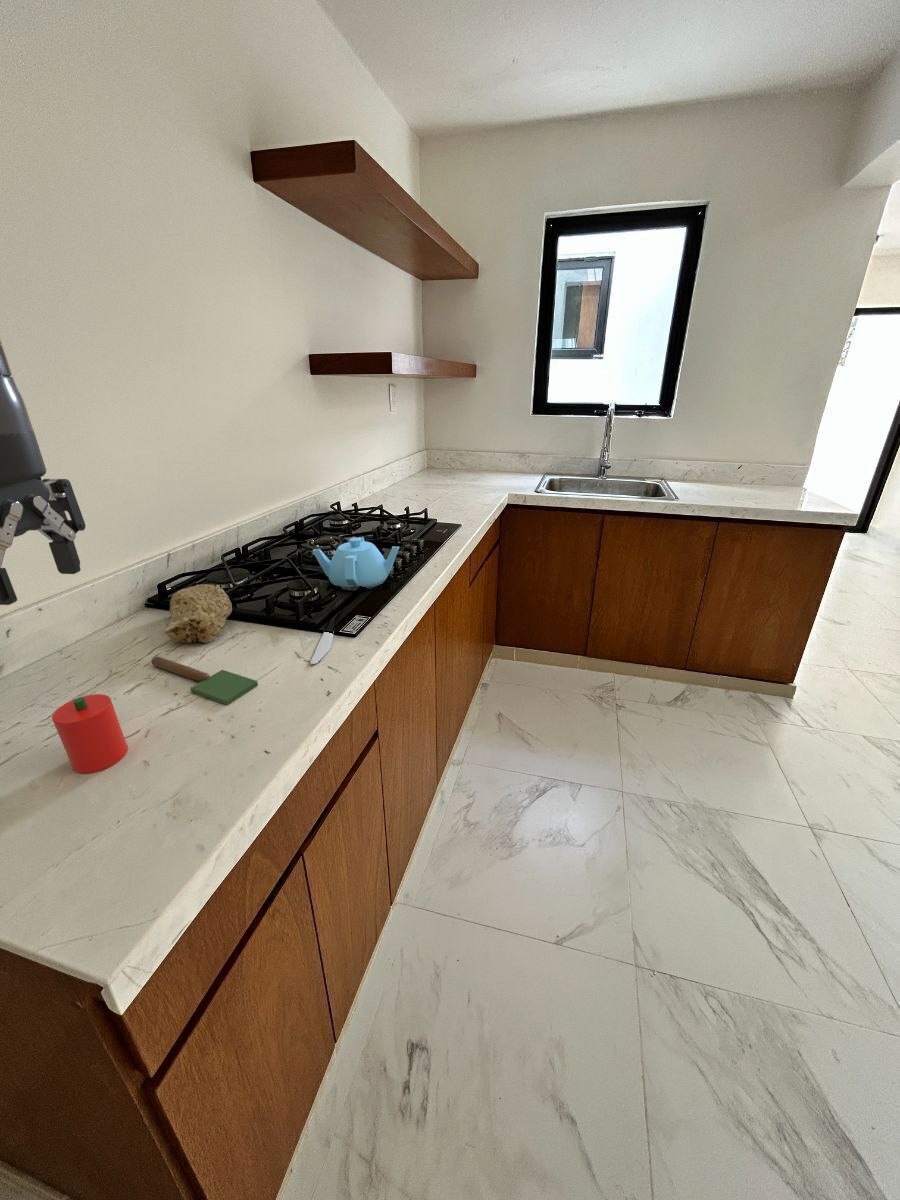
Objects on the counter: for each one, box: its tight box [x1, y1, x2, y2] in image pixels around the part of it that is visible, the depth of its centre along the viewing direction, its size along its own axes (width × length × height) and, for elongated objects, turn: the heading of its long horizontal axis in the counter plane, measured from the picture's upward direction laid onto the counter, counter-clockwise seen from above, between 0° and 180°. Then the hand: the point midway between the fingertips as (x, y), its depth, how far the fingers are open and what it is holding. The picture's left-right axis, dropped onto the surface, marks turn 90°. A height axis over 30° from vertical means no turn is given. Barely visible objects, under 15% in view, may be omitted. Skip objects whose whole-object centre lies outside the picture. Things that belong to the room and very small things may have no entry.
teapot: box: [312, 536, 400, 588], centre depth 116 cm, size 15×15×11 cm
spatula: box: [150, 656, 259, 706], centre depth 80 cm, size 21×6×2 cm, turn 63°
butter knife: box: [309, 631, 334, 665], centre depth 96 cm, size 1×27×3 cm
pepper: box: [51, 693, 129, 775], centre depth 62 cm, size 6×6×9 cm
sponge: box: [164, 583, 233, 644], centre depth 98 cm, size 13×8×20 cm
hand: (40, 587), depth 54 cm, fingers open, 8 cm apart
